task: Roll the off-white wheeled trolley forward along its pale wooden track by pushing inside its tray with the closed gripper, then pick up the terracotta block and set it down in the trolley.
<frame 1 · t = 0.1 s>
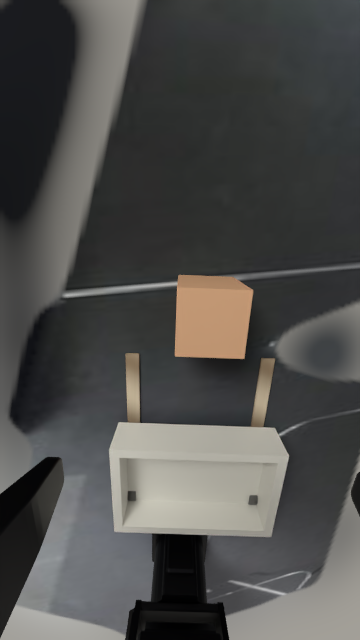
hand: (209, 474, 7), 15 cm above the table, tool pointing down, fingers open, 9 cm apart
track: (195, 431, 25), on the table
part block: (203, 302, 21), on the table
trolley: (194, 475, 23), point 3 cm above the table, slide at 0.0 cm
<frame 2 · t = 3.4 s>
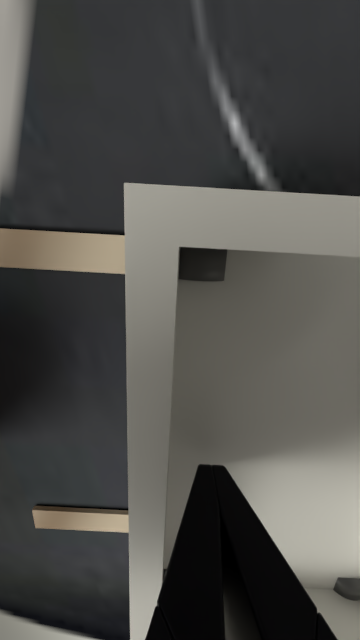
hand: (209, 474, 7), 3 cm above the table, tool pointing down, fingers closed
track: (225, 417, 10), on the table
trolley: (300, 475, 7), point 2 cm above the table, slide at 1.1 cm, touching gripper
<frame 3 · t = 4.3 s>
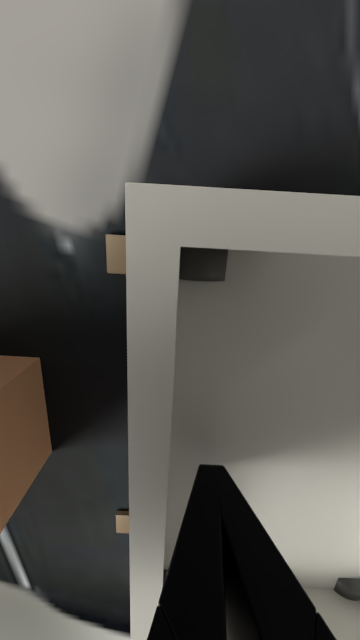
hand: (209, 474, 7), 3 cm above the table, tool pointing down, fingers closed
track: (321, 422, 10), on the table
trolley: (301, 476, 7), point 3 cm above the table, slide at 5.0 cm, touching gripper
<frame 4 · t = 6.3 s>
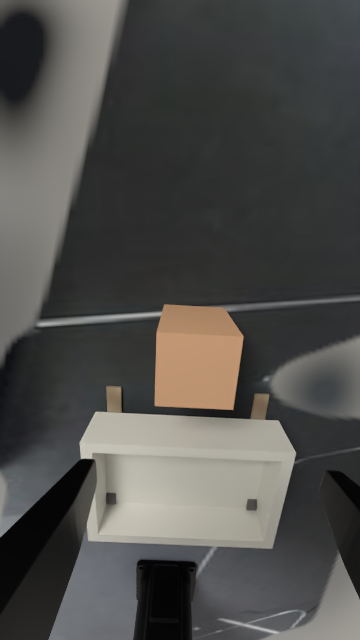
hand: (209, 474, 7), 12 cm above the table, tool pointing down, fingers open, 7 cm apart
track: (182, 467, 23), on the table
part block: (192, 334, 19), on the table
trolley: (183, 475, 20), point 3 cm above the table, slide at 5.0 cm
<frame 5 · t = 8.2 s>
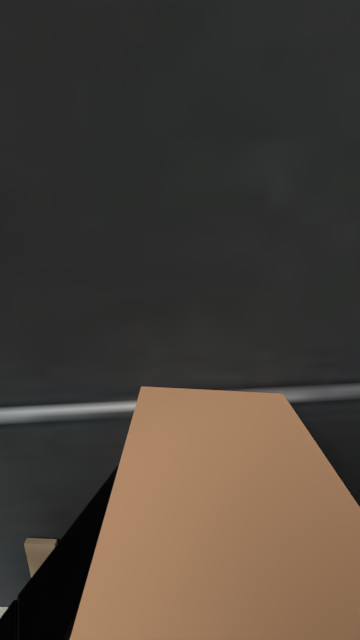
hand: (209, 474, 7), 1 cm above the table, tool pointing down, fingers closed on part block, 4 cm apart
part block: (206, 446, 8), on the table, touching gripper
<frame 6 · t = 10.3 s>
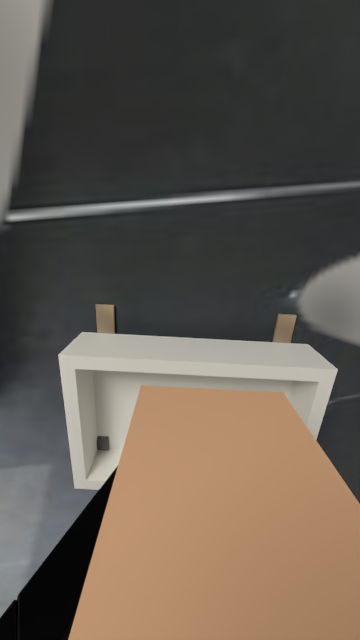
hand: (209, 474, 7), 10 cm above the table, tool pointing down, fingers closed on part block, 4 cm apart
track: (188, 411, 19), on the table
part block: (206, 445, 8), point 9 cm above the table, touching gripper
trolley: (191, 412, 16), point 3 cm above the table, slide at 5.0 cm
when the fingers open (4 cm above the table, at t = 12.2 s): part block drops 1 cm, resting on trolley.
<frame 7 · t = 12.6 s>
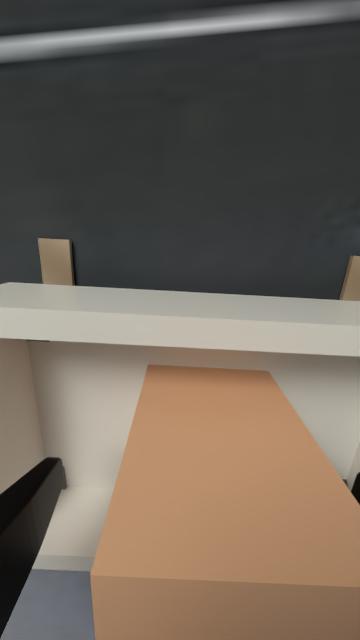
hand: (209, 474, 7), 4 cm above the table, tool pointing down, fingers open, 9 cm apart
track: (196, 422, 12), on the table
part block: (203, 417, 10), point 2 cm above the table, touching trolley
trolley: (203, 425, 9), point 2 cm above the table, slide at 5.0 cm, touching part block
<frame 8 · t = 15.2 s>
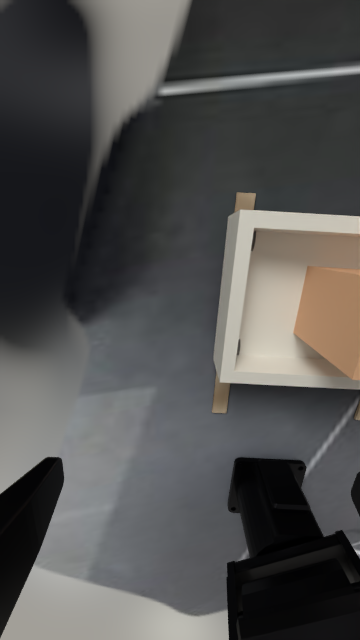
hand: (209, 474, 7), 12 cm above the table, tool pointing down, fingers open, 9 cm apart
track: (311, 322, 18), on the table
part block: (333, 302, 16), point 2 cm above the table, touching trolley
trolley: (338, 304, 15), point 2 cm above the table, slide at 5.0 cm, touching part block
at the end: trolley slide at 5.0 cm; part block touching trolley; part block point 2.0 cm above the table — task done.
